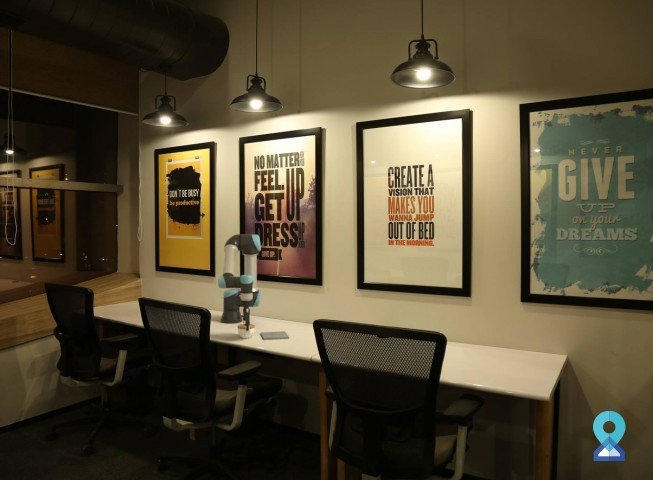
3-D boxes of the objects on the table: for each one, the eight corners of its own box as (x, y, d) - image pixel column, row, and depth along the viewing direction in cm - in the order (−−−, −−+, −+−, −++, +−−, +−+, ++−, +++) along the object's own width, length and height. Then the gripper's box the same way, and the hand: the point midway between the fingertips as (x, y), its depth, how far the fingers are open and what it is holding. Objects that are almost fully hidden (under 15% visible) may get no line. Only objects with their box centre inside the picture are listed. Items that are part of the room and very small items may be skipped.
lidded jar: (251, 340, 294) (251, 325, 293) (234, 339, 296) (234, 324, 295) (257, 336, 304) (257, 321, 304) (241, 335, 306) (241, 320, 306)
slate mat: (260, 333, 310) (260, 332, 310) (284, 332, 314) (284, 331, 314) (263, 339, 295) (263, 338, 295) (289, 338, 299) (289, 337, 299)
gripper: (238, 296, 310) (238, 329, 311) (242, 303, 286) (241, 338, 287) (250, 296, 312) (250, 328, 313) (254, 302, 288) (254, 337, 289)
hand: (246, 333), depth 300 cm, fingers open, 13 cm apart
